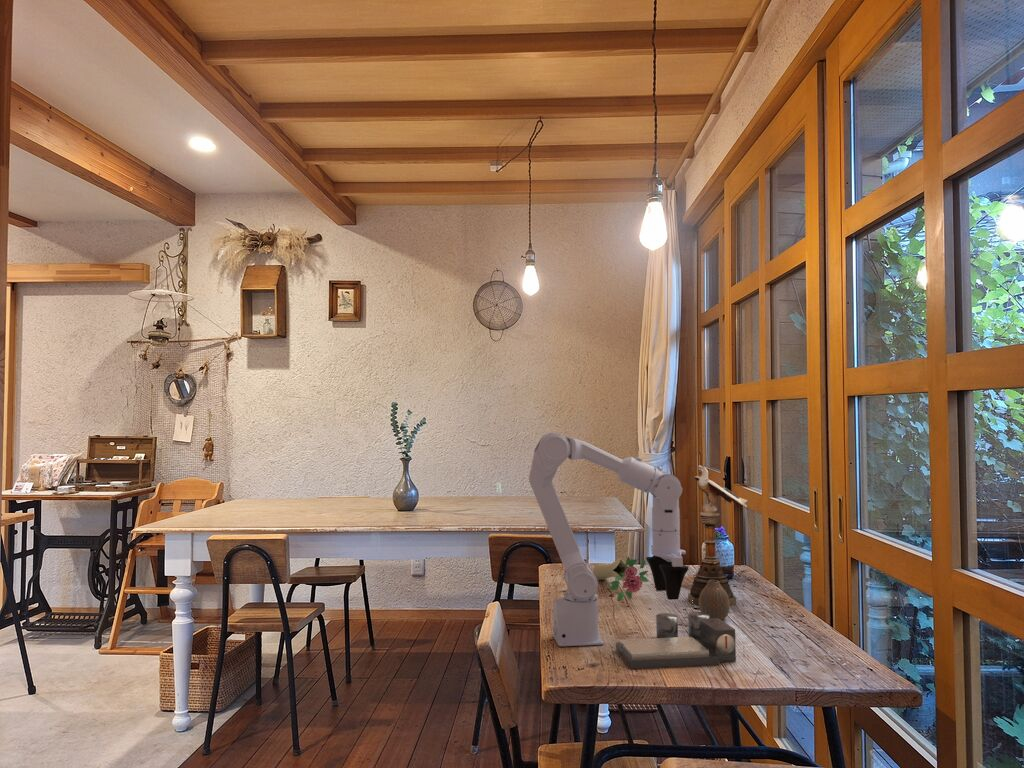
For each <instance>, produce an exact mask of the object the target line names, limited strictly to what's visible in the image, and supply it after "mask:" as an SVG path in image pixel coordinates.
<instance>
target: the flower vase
mask: <svg viewBox="0 0 1024 768" xmlns="http://www.w3.org/2000/svg"><path fill="white" fill-rule="evenodd" d="M645 559H646V558H643V559H642V560H641V563H640V565H639V569H644V568H645V566H646V560H645ZM637 562H638V559H635V558H633V559H632V557H631V558H630V556H627V558H626V559H625V560H624V559H623V558H622V557H619V558H618V559H616V560H614V561H613V562H611V563H604V562H599V563H597V564H595V565H594V567H593V569H592V572H593V574H594V575H595V577H596V578H597V580H599V581H605V580H606V579H610V578H615V579H616V580H613V581H611V582H609V584H610V585H611V586H609V589H608V591H615V590H617V589H619V586H620V581H622V589H626V590H625V592H624V591H619V593H618V595H617V602H620V601H622V600H623V599H624V598H625V596H627V597H628V598H629V599H632V595H633V593H637V592H639V591H640V590H641V588H642V586H643V583H648V582H649V579H648V578H647V577H645V575H647V574H648V572H649V570H643V571H641V572H639V573H638V568H636V567H635V566H634V565H636V564H637Z"/></svg>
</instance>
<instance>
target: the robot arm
mask: <svg viewBox="0 0 1024 768" xmlns="http://www.w3.org/2000/svg"><path fill="white" fill-rule="evenodd" d="M533 450H534V451H533V456H532V461H531V465H530V471H529V475H528V481H529V485H530V487H531V488H532V491H533V494H534V497H535V499H536V501H537V505H538V506H539V509H540V511H541V514H542V516H543V519H544V520H545V524H546V525H547V528H548V531H549V534H550V536H551V538H552V541H553V543H554V546H555V548H556V551H557V553H558V556H559V558H560V560H561V563H562V565H563V568H564V574H563V579H564V582H565V583H566V586H567V589H566V590H565V592H564V593H563V597H559V598H554V599H553V603H552V636H553V638H554V640H555V642H556V643H557V646H558V647H574V646H575V647H576V646H577V647H579V646H600V645H602V646H603V645H604V644H605V642H604V640H603V639H602V638H601V636H600V635H599V595H598V593H597V591H598V587H599V582H598V579H597V578H596V577H595V575H594V574H593V569H592V567H591V566H590V565H589V564H587V562H585V559H584V557H583V555H582V552H581V550H580V548H579V545H578V543H577V540H576V539H575V538H576V537H575V535H574V533H573V530H572V527H571V526H570V523H569V521H568V518H567V516H566V515H567V514H566V513H565V510H564V508H563V505H562V504H561V501H560V498H559V496H558V494H557V491H556V488H555V486H554V484H553V479H554V478H555V475H556V474H557V471H558V468H559V467H560V466H561V465H562V464H564V462H565V461H566V460H567V459H569V460H570V461H572V460H585V461H588V462H590V463H593V464H595V465H597V466H600V467H603V468H605V469H608V470H609V471H612V472H614V473H616V474H617V477H618V480H619V481H620V482H621V483H623V484H626V485H628V486H630V487H632V488H634V489H637V490H639V491H641V492H643V493H646V494H648V493H650V494H651V496H652V507H651V513H652V514H651V515H652V516H651V520H652V521H651V522H652V523H651V525H652V526H651V527H652V528H651V529H652V531H651V533H652V534H651V535H652V536H651V537H652V541H651V542H652V545H651V548H650V549H651V555H652V556H646V557H645V559H646V560H645V561H647V563H648V565H649V567H650V570H651V574H652V579H653V584H654V588H655V590H656V591H657V592H663V591H664V592H665V593H666V597H667V600H670V601H671V600H679V597H680V593H681V588H682V584H683V581H684V578H685V576H686V574H687V573H688V571H689V566H688V565H686V564H685V565H684V564H683V561H684V558H683V556H682V555H686V550H684V549H681V532H680V531H681V524H680V521H681V520H680V518H681V517H680V497H681V495H682V493H683V489H684V488H683V487H682V484H681V481H680V479H678V478H677V476H675V475H673V474H671V473H667V472H666V471H665V470H663V468H662V467H660V466H657V467H654V465H650V464H648V463H646V462H643V458H641V457H640V456H635V457H633V456H628V457H625V458H623V459H622V458H619V457H618V456H616V455H613V454H611V453H609V452H607V451H605V450H604V449H600V448H599V447H598V446H597V447H596V446H595V445H593V444H591V443H588V442H586V441H584V440H580V439H577V438H573V437H570V436H566V435H565V436H564V435H563V434H560V433H557V432H548V433H546V434H544V435H542V437H541V438H540V439H539V441H538V443H537V444H536V446H535V448H534V449H533Z"/></svg>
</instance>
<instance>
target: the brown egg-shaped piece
mask: <svg viewBox="0 0 1024 768" xmlns="http://www.w3.org/2000/svg"><path fill="white" fill-rule="evenodd" d="M698 607H699V612H703V613H707V614H709V615H710V619H713V618H719V619H720V620H722V621H724V620H725V619H726V618H727V617H728V614H729V612H730V607H731V606H730V602H729V598H728V595H727V593H726V591H725V590H724V589H723V588H722V586H721V585H720V583H719V581H718V580H709V581H708V583H707V585H706V586H705V587H704V589H703V590H702V592H701V594H700V597H699V605H698Z"/></svg>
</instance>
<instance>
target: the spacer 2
mask: <svg viewBox="0 0 1024 768" xmlns="http://www.w3.org/2000/svg"><path fill="white" fill-rule="evenodd" d="M687 616H688V617H687V623H688V627H687V628H688V637H693V638H694V639H698V640H699V641H700V619H710V615H709V614H707V613H703V612H701V611H693V612H692V611H691V612H689V613H688V614H687Z"/></svg>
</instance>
